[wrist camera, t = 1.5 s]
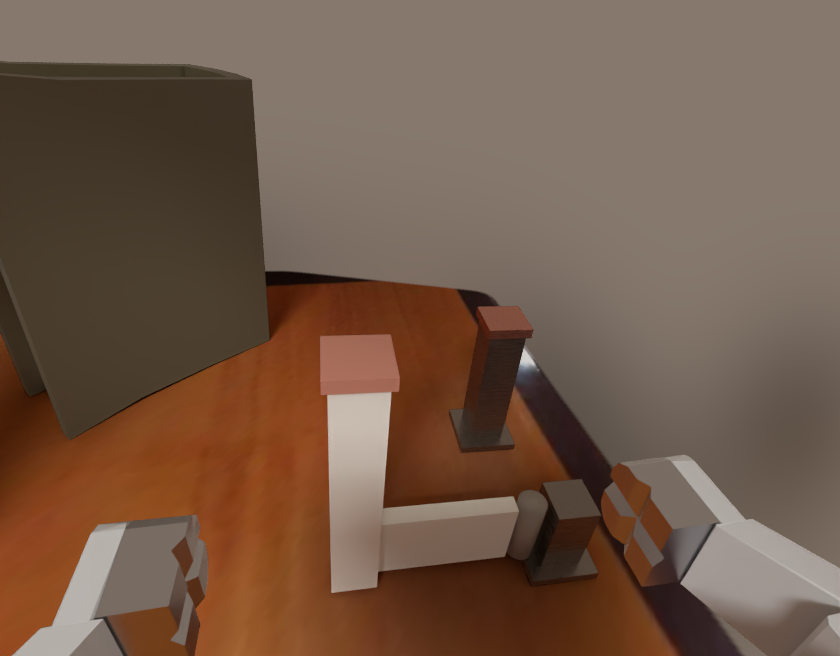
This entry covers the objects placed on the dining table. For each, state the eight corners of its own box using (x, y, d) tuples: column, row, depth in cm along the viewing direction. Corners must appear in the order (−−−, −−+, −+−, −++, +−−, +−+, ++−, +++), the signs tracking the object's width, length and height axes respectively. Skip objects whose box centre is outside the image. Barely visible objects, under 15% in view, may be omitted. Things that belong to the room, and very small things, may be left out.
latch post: (461, 452, 44) (483, 336, 37) (448, 414, 48) (467, 302, 41) (513, 448, 45) (545, 334, 38) (497, 411, 49) (523, 301, 42)
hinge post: (531, 586, 34) (551, 534, 31) (508, 523, 38) (524, 472, 35) (596, 577, 35) (622, 526, 32) (567, 517, 39) (587, 467, 36)
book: (226, 311, 61) (196, 57, 46) (275, 341, 57) (259, 71, 42) (24, 390, 46) (-118, 48, 31) (69, 440, 41) (-71, 69, 27)
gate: (326, 598, 32) (320, 381, 22) (326, 547, 35) (320, 336, 25) (538, 571, 35) (618, 369, 25) (521, 526, 38) (586, 329, 28)
